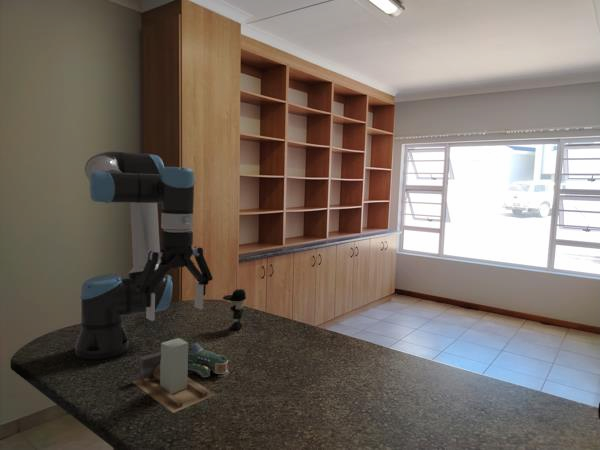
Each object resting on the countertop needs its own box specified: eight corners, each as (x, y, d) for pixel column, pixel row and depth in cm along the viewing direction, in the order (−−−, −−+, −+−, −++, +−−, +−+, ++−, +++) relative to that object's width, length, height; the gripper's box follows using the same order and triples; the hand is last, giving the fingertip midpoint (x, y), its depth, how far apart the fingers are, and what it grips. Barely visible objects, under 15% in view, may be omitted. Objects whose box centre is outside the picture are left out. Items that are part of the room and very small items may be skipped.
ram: (159, 387, 104) (159, 342, 103) (176, 380, 108) (177, 337, 107) (169, 394, 101) (170, 348, 100) (187, 387, 105) (188, 342, 103)
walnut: (150, 380, 108) (150, 364, 108) (165, 374, 111) (165, 359, 111) (158, 386, 105) (158, 370, 105) (173, 380, 108) (174, 364, 108)
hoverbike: (216, 387, 108) (217, 358, 108) (147, 365, 119) (147, 338, 118) (237, 373, 117) (237, 345, 116) (171, 354, 128) (171, 328, 127)
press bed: (132, 386, 107) (132, 360, 106) (173, 371, 116) (173, 347, 115) (173, 417, 94) (173, 388, 93) (215, 398, 103) (216, 371, 102)
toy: (225, 323, 156) (226, 285, 155) (247, 325, 155) (248, 287, 154) (219, 330, 149) (220, 290, 147) (242, 332, 148) (243, 292, 146)
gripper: (135, 235, 89) (134, 329, 91) (227, 229, 107) (224, 307, 109) (120, 231, 94) (119, 320, 96) (210, 225, 112) (208, 300, 114)
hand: (175, 313), depth 103 cm, fingers open, 13 cm apart
